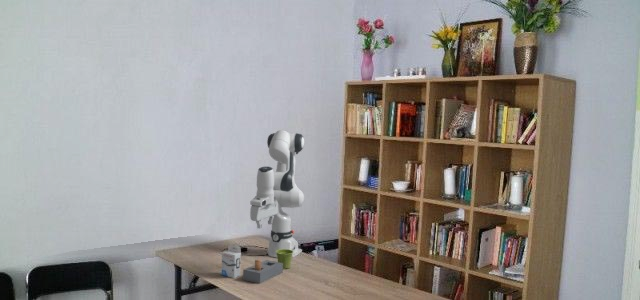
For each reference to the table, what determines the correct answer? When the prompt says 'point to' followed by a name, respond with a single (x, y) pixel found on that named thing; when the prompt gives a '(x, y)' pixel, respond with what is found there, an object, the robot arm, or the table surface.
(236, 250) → the ink box
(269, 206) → the robot arm
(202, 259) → the table surface
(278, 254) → the plant pot
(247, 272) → the hole block
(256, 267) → the peg
